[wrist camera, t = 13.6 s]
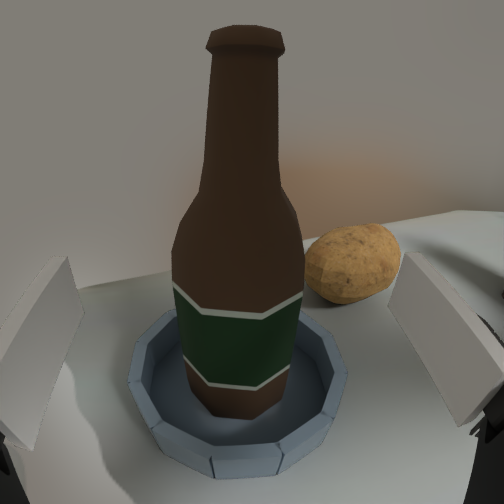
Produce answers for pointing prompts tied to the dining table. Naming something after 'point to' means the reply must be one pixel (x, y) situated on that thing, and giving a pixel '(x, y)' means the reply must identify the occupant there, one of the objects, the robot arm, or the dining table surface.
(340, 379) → the bowl
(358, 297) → the potato
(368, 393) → the dining table surface
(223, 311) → the beer bottle
